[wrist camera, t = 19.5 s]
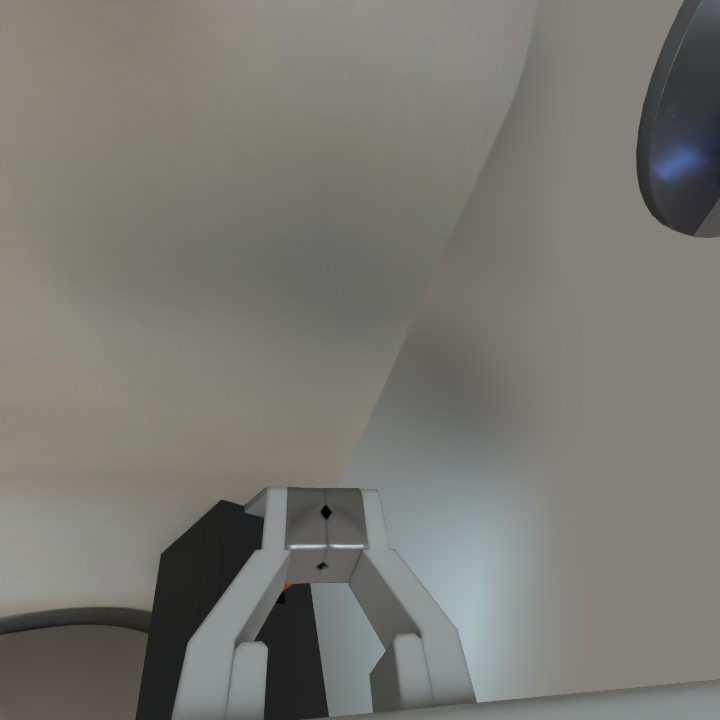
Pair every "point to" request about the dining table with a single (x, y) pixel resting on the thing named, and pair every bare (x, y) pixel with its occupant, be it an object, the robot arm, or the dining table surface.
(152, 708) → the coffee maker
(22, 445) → the dining table surface
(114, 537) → the dining table surface
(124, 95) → the dining table surface
